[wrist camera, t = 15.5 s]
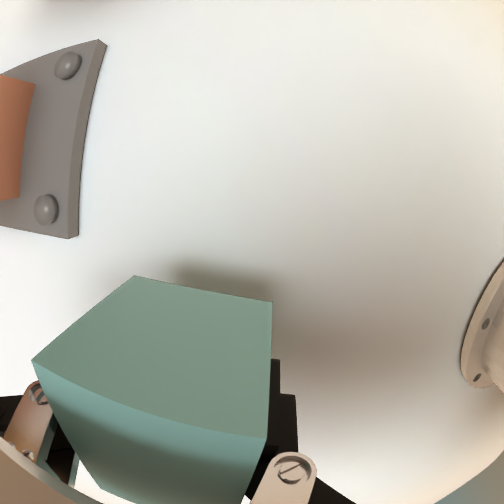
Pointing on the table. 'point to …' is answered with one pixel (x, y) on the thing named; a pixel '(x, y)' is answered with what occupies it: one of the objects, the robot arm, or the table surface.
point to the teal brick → (164, 391)
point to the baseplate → (46, 138)
